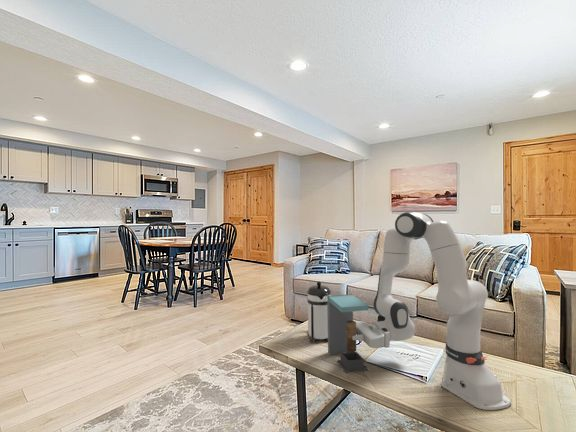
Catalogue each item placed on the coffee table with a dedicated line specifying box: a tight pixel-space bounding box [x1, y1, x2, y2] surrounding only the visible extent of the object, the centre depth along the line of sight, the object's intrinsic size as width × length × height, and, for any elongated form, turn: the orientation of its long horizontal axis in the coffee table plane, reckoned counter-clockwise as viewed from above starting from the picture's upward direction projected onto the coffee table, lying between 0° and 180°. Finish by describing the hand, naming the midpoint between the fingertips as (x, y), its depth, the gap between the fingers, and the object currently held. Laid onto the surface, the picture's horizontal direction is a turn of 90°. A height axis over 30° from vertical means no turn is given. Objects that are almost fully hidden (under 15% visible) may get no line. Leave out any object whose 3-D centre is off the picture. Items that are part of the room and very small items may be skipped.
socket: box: [336, 351, 369, 374], centre depth 127 cm, size 10×10×4 cm
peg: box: [347, 320, 357, 352], centre depth 128 cm, size 4×4×12 cm
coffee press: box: [306, 281, 332, 343], centre depth 158 cm, size 17×16×30 cm
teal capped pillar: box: [327, 293, 370, 355], centre depth 132 cm, size 18×12×27 cm, turn 12°
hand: (349, 334), depth 127 cm, fingers closed on peg, 4 cm apart
